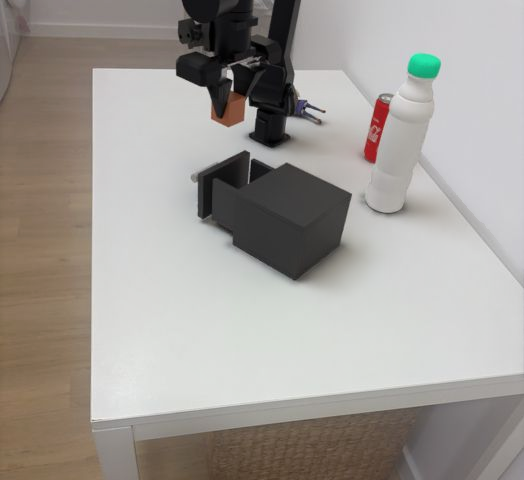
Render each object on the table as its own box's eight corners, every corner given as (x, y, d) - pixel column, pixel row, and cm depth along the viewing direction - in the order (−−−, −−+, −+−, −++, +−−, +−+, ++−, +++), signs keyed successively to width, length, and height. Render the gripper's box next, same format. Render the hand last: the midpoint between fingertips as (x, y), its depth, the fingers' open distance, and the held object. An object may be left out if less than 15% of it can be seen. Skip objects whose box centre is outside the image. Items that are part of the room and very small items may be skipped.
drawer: (179, 206, 89) (178, 163, 83) (224, 182, 95) (226, 140, 89) (250, 247, 83) (254, 203, 77) (293, 218, 89) (300, 176, 84)
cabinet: (232, 244, 84) (235, 190, 77) (279, 213, 92) (286, 162, 84) (294, 280, 80) (304, 227, 73) (339, 245, 87) (352, 193, 80)
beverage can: (387, 166, 107) (404, 106, 98) (361, 161, 107) (376, 101, 98) (388, 154, 110) (404, 95, 101) (363, 149, 110) (378, 90, 102)
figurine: (330, 104, 116) (274, 79, 120) (323, 100, 112) (266, 75, 117) (318, 131, 118) (264, 105, 123) (312, 127, 115) (256, 101, 119)
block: (226, 112, 91) (227, 88, 88) (244, 121, 89) (245, 96, 86) (210, 119, 89) (211, 94, 86) (228, 127, 87) (229, 103, 84)
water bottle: (404, 199, 99) (452, 54, 80) (399, 218, 94) (448, 69, 76) (368, 189, 100) (406, 44, 81) (360, 208, 95) (399, 59, 77)
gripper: (235, -16, 85) (230, 85, 97) (147, 1, 75) (153, 112, 86) (289, 3, 81) (277, 106, 92) (204, 23, 70) (202, 137, 82)
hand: (228, 114), depth 88 cm, fingers closed on block, 4 cm apart
